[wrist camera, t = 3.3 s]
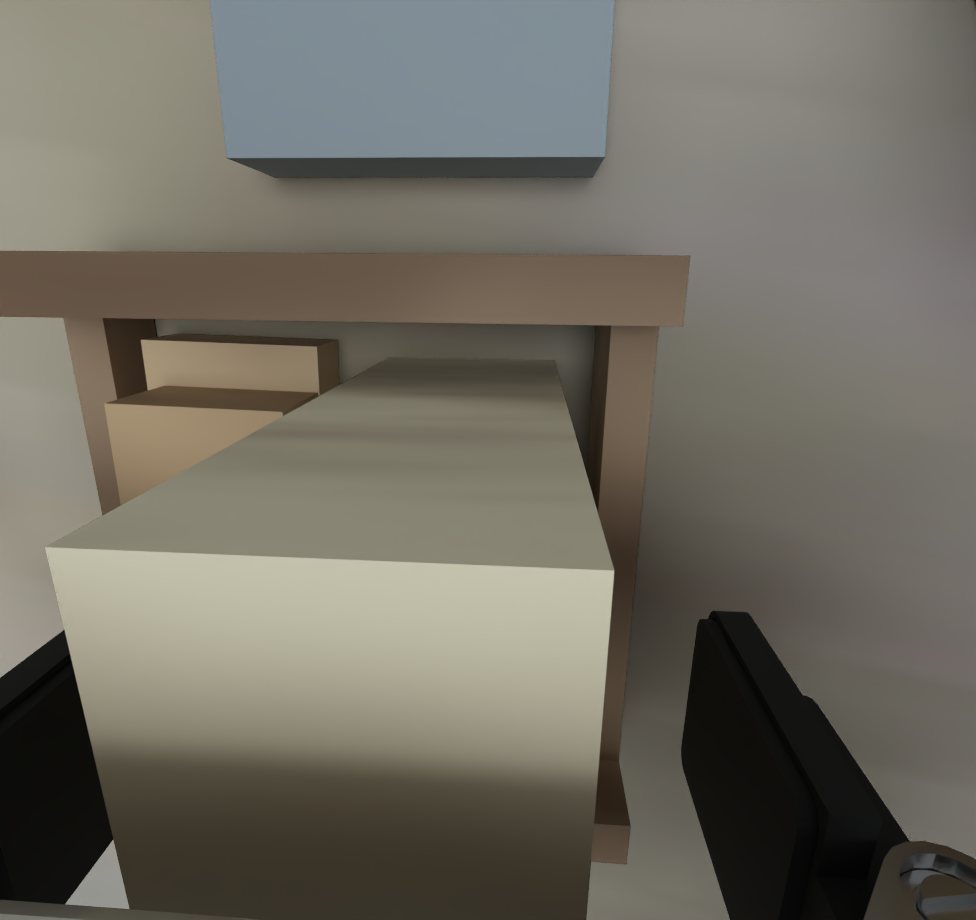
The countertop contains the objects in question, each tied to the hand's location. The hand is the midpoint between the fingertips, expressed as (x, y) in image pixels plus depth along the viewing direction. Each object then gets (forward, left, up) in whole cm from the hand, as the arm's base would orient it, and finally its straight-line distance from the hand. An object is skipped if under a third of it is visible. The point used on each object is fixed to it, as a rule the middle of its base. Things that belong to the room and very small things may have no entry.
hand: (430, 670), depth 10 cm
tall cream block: (0, 0, -7) cm, 7 cm away
